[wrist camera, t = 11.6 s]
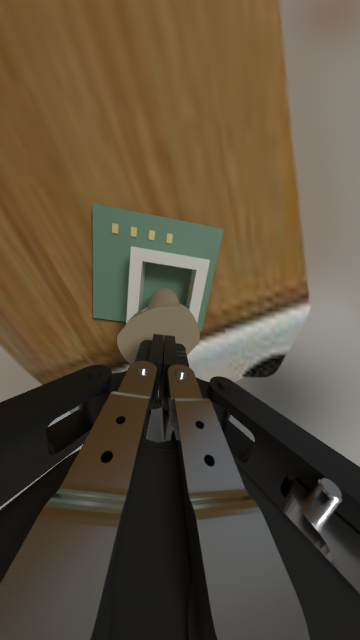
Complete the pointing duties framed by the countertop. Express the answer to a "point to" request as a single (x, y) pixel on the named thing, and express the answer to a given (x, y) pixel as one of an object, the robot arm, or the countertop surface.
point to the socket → (146, 255)
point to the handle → (159, 324)
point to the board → (149, 233)
